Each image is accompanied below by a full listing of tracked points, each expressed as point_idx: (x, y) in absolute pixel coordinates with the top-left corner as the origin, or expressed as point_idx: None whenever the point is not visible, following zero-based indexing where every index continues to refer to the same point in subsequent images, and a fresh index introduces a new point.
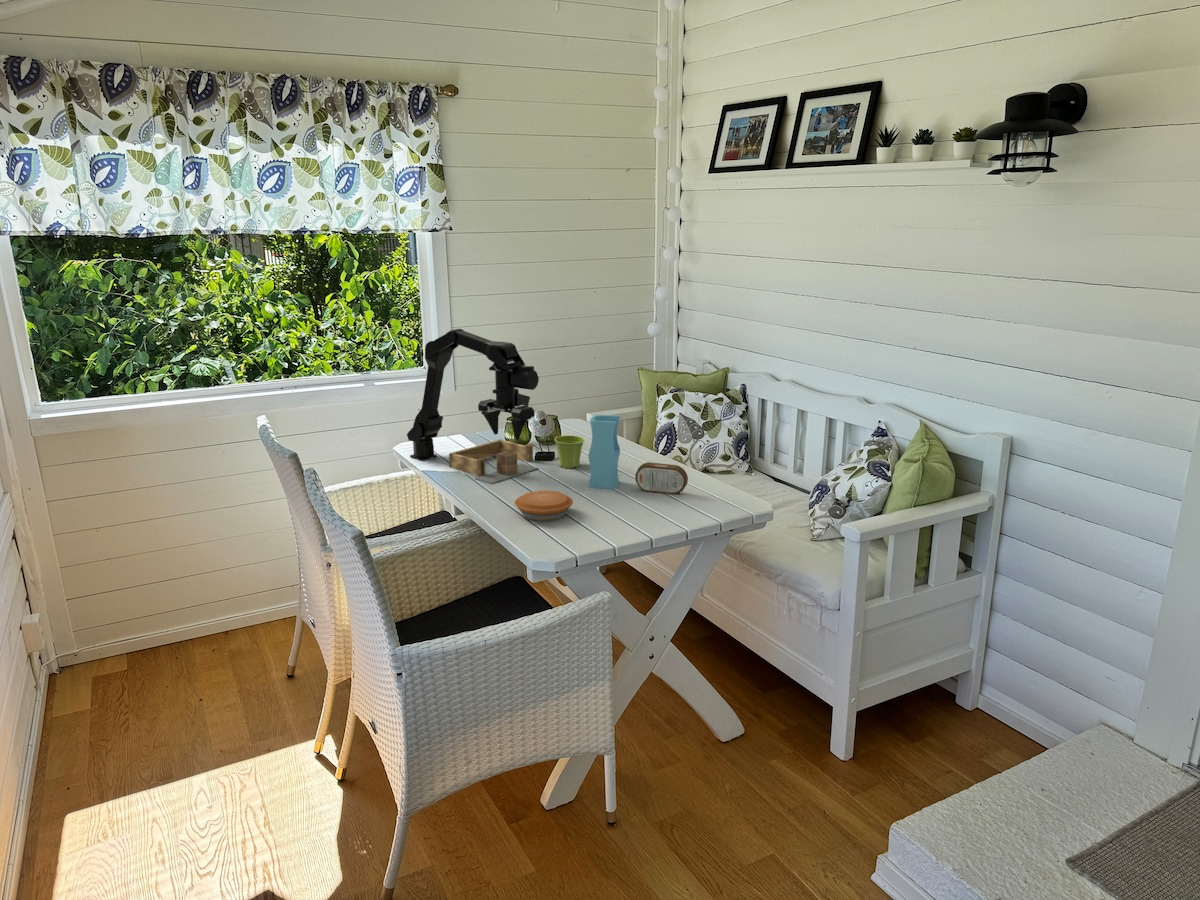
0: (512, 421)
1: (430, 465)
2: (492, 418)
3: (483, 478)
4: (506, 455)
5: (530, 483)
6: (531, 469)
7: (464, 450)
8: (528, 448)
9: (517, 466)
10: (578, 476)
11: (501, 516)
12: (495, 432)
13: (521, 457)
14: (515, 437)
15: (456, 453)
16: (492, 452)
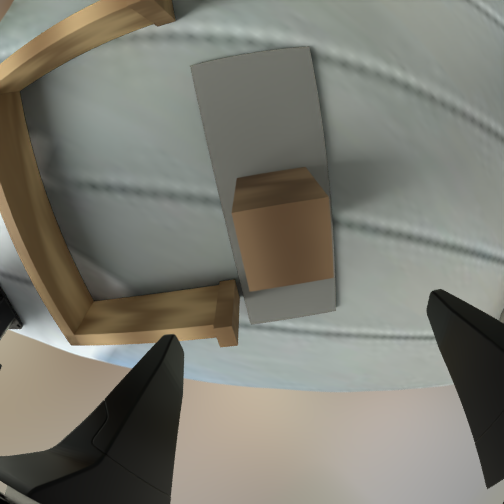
0: (492, 466)
1: (59, 332)
2: (152, 488)
3: (276, 308)
4: (314, 266)
5: (427, 205)
6: (310, 87)
7: (46, 292)
8: (152, 1)
9: (222, 111)
10: (473, 31)
11: None
12: (181, 365)
13: (118, 33)
14: (436, 329)
15: (70, 326)
16: (17, 134)
